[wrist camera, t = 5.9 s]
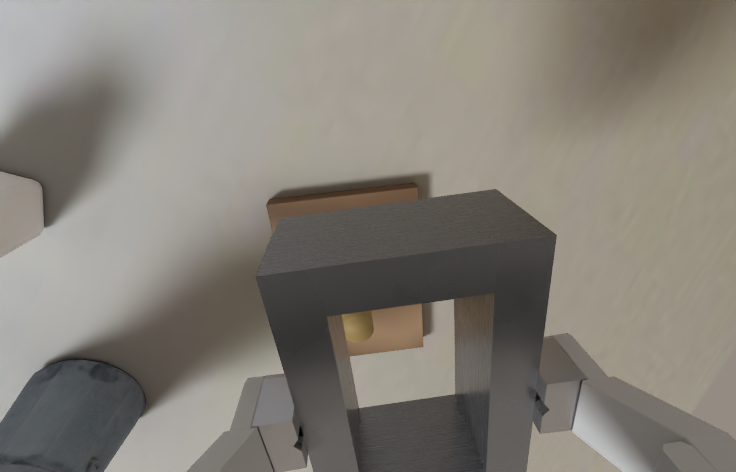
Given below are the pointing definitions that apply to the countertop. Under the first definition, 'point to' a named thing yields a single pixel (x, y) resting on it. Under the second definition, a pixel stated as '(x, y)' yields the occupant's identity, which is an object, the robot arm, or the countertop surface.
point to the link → (409, 287)
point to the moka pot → (70, 418)
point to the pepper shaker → (19, 211)
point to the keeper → (374, 326)
